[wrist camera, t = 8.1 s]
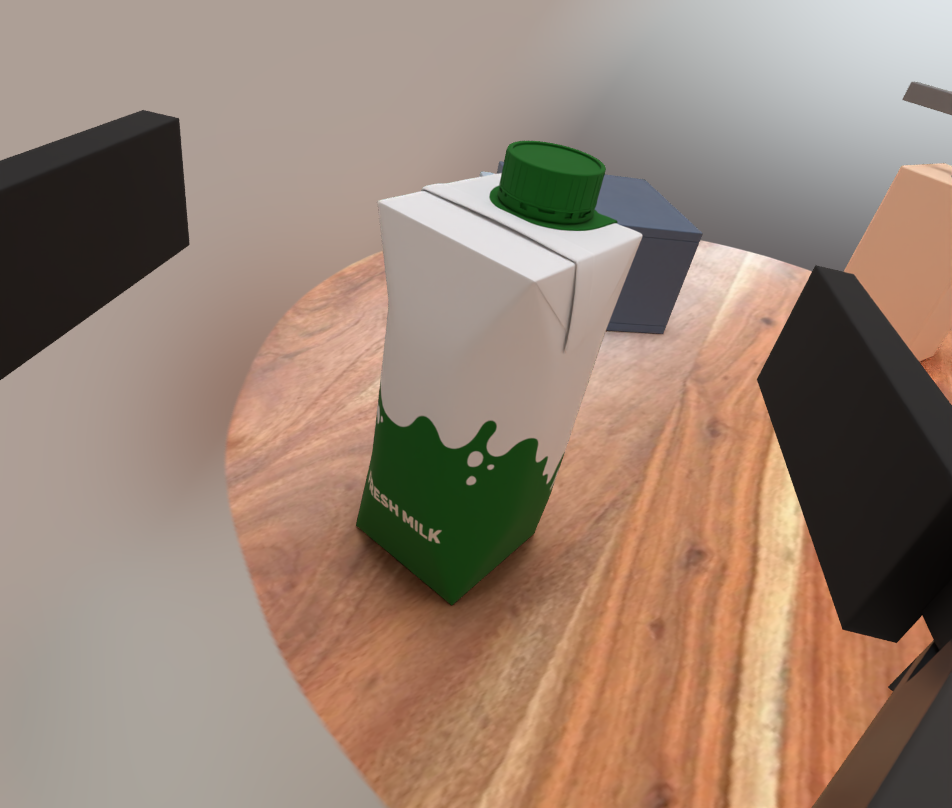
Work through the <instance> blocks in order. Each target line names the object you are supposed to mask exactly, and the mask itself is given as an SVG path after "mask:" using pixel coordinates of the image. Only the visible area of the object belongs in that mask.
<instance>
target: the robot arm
mask: <svg viewBox="0 0 952 808" xmlns="http://www.w3.org/2000/svg"><path fill="white" fill-rule="evenodd" d="M188 245H189V233H188V222H187V210H186V197H185V185H184V174H183V161H182V149H181V137H180V124H179V118H175V117H171V116H166V115H162V114H157V113H154V112H149V111H144V110H142V111H139V112H136V113H133V114H131V115H128V116H125V117H122V118H119V119H117V120H114V121H111V122H108V123H105V124H103V125H100V126H97V127H94V128H91V129H88V130H86V131H83V132H80V133H77V134H75V135H72V136H69V137H66V138H63V139H60V140H58V141H55V142H52V143H49V144H46V145H43V146H41V147H38V148H35V149H32V150H29V151H26V152H24V153H21V154H18V155H15V156H13V157H9V158H7V159H4V160H1V161H0V380H1V379H3V378H4V377H5V376H7V375H8V374H9V373H11V372H12V371H14V370H15V369H17V368H18V367H19V366H21V365H22V364H23V363H25V362H26V361H27V360H29V359H31V358H32V357H33V356H35V355H36V354H37V353H39V352H40V351H42V350H43V349H45V348H46V347H47V346H49V345H50V344H52V343H53V342H54V341H56V340H57V339H59V338H60V337H61V336H63V335H64V334H65V333H67V332H68V331H70V330H71V329H73V328H74V327H75V326H77V325H78V324H80V323H81V322H82V321H84V320H85V319H86V318H88V317H89V316H90V315H92V314H93V313H95V312H96V311H98V310H99V309H100V308H102V307H103V306H105V305H106V304H107V303H109V302H110V301H112V300H113V299H114V298H116V297H117V296H119V295H120V294H121V293H123V292H124V291H125V290H127V289H128V288H130V287H131V286H133V285H134V284H135V283H137V282H138V281H139V280H141V279H142V278H144V277H145V276H146V275H148V274H149V273H151V272H152V271H153V270H155V269H156V268H158V267H159V266H160V265H162V264H163V263H165V262H166V261H168V260H169V259H170V258H172V257H173V256H175V255H176V254H177V253H179V252H180V251H181V250H183V249H184V248H186V247H187V246H188ZM757 381H758V384H759V387H760V389H761V392H762V395H763V398H764V401H765V404H766V407H767V410H768V413H769V416H770V419H771V422H772V425H773V427H774V430H775V433H776V436H777V439H778V442H779V445H780V448H781V451H782V454H783V457H784V460H785V462H786V465H787V468H788V471H789V474H790V477H791V480H792V483H793V486H794V489H795V492H796V495H797V498H798V500H799V503H800V506H801V509H802V512H803V515H804V518H805V521H806V524H807V527H808V530H809V533H810V536H811V538H812V541H813V544H814V547H815V550H816V553H817V556H818V559H819V562H820V565H821V568H822V571H823V573H824V576H825V579H826V582H827V585H828V588H829V591H830V594H831V597H832V600H833V603H834V606H835V609H836V611H837V614H838V617H839V620H840V623H841V626H842V629H843V630H847V631H851V632H855V633H859V634H863V635H867V636H871V637H875V638H879V639H883V640H887V641H891V642H895V643H897V642H898V641H899V640H900V639H901V638H902V637H903V636H904V634H905V633H906V632H907V631H908V630H909V629H910V628H911V627H912V626H913V625H914V624H915V623H916V621H917V620H918V619H919V618H920V617H921V616H922V615H923V618H924V620H925V622H926V624H927V626H928V628H929V630H930V633H931V635H932V637H933V639H934V640H933V641H932V643H931V644H930V645H929V646H928V647H927V648H926V649H925V650H924V651H923V652H922V653H921V654H920V655H919V656H918V657H917V658H916V659H915V660H914V661H913V662H912V663H911V664H910V665H909V666H908V667H907V668H906V669H905V670H904V671H903V672H902V673H901V674H900V675H899V676H898V677H897V678H896V679H895V680H894V681H893V683H892V684H891V685H890V686H889V687H888V688H889V689H891V690H892V691H893V693H892V694H891V696H890V697H889V698H888V700H887V701H886V703H885V704H884V706H883V707H882V708H881V710H880V711H879V713H878V714H877V715H876V717H875V718H874V720H873V721H872V723H871V724H870V725H869V727H868V728H867V730H866V731H865V733H864V734H863V735H862V737H861V738H860V740H859V741H858V743H857V744H856V745H855V747H854V748H853V750H852V751H851V753H850V754H849V755H848V757H847V758H846V760H845V761H844V763H843V764H842V765H841V767H840V768H839V770H838V771H837V772H836V774H835V775H834V777H833V778H832V780H831V781H830V782H829V784H828V785H827V787H826V788H825V790H824V791H823V792H822V794H821V795H820V797H819V798H818V800H817V801H816V802H815V804H814V805H813V807H812V808H952V405H951V404H950V403H949V401H948V400H947V398H946V397H945V396H944V394H943V393H942V392H941V390H940V389H939V388H938V386H937V385H936V384H935V382H934V381H933V380H932V378H931V377H930V376H929V374H928V373H927V372H926V370H925V369H924V368H923V366H922V365H921V364H920V362H919V361H918V360H917V358H916V357H915V356H914V354H913V353H912V352H911V350H910V349H909V348H908V346H907V345H906V344H905V342H904V341H903V339H902V338H901V337H900V335H899V334H898V333H897V331H896V330H895V329H894V327H893V326H892V325H891V323H890V322H889V321H888V319H887V318H886V317H885V315H884V314H883V313H882V311H881V310H880V309H879V307H878V306H877V305H876V303H875V302H874V301H873V299H872V298H871V297H870V295H869V294H868V293H867V291H866V290H865V289H864V287H863V286H862V285H861V283H860V282H859V280H858V279H857V278H856V276H855V275H854V274H851V273H846V272H842V271H838V270H833V269H828V268H825V267H820V266H815V267H814V269H813V271H812V273H811V275H810V277H809V279H808V281H807V283H806V285H805V287H804V289H803V291H802V293H801V295H800V297H799V298H798V300H797V302H796V304H795V306H794V308H793V310H792V312H791V314H790V316H789V318H788V320H787V322H786V324H785V326H784V328H783V330H782V332H781V334H780V336H779V337H778V339H777V341H776V343H775V345H774V347H773V349H772V351H771V353H770V355H769V357H768V359H767V361H766V363H765V365H764V367H763V369H762V371H761V373H760V374H759V376H758V378H757Z"/></svg>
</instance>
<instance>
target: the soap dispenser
mask: <svg viewBox="0 0 952 808" xmlns="http://www.w3.org/2000/svg"><path fill="white" fill-rule="evenodd" d="M903 100H905V101H908V102H911V103H915V104H918V105H921V106H924V107H927V108H931V109H934V110H937V111H941V112H943V113H947V114H950V115H952V92H950V91H947V90H943V89H940V88H936V87H933V86H929V85H926V84H922V83H918V82H911V84H910V86H909V88H908V90H907V92H906V94H905V95H904V98H903ZM844 272H846V273H851V274H854V275H855V276H856V278H857V279H858V280H859V282H860V283H861V285H862V286H863V287H864V289H865V290H866V291H867V293H868V294H869V295H870V297H871V298H872V299H873V301H874V302H875V303H876V305H877V306H878V307H879V309H880V310H881V311H882V313H883V314H884V315H885V317H886V318H887V319H888V321H889V322H890V323H891V325H892V326H893V327H894V329H895V330H896V331H897V333H898V334H899V335H900V337H901V338H902V339H903V341H904V342H905V344H906V345H907V346H908V348H909V349H910V350H911V352H912V353H913V354H914V356H915V357H916V358H917V360H918V361H922V360H924V359H927V358H929V357H932V356H933V355H934V353H935V352H936V351H937V349H938V348H939V346H940V345H941V343H942V342H943V340H944V339H945V338H946V336H947V335H948V333H949V332H950V330H951V329H952V166H950V165H948V164H945V163H940V164H922V165H905V166H901V168H900V169H899V171H898V173H897V175H896V177H895V179H894V180H893V182H892V184H891V186H890V188H889V190H888V191H887V193H886V195H885V197H884V199H883V201H882V202H881V205H880V206H879V208H878V210H877V212H876V214H875V215H874V217H873V219H872V221H871V223H870V224H869V226H868V228H867V230H866V232H865V234H864V236H863V237H862V239H861V241H860V243H859V245H858V246H857V248H856V250H855V252H854V254H853V256H852V257H851V259H850V261H849V263H848V265H847V267H846V268H845V270H844Z"/></svg>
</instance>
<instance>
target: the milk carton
mask: <svg viewBox="0 0 952 808" xmlns="http://www.w3.org/2000/svg"><path fill="white" fill-rule="evenodd" d="M605 170H606V168H605V166H604V164H603V163H602V162H601V161H599V160H598V159H596V158H595V157H593V156H591V155H589V154H586V153H584V152H582V151H579V150H576V149H573V148H570V147H566V146H562V145H558V144H553V143H547V142H540V141H519V142H514V143H512V144H510V145H509V146H508V148H507V150H506V156H505V160H504V165H503V169H502V173H499V174H493V175H487V176H482V177H478V178H472V179H467V180H462V181H457V182H451V183H447V184H441V183H439V184H433V185H428V186H425V187H423V188H422V190H421V192H416V193H412V194H407V195H402V196H398V197H393V198H388V199H384V200H379V201H377V203H378V211H379V219H380V228H381V237H382V246H383V254H384V263H385V272H386V281H387V290H388V316H387V326H386V335H385V344H384V354H383V363H382V372H381V381H380V390H379V399H378V408H377V417H376V426H375V434H374V443H373V451H372V456H371V461H370V466H369V470H368V474H367V479H366V483H365V488H364V492H363V496H362V501H361V505H360V510H359V514H358V518H357V523H356V526H357V527H359V528H360V529H361V530H362V531H363V532H365V533H366V534H367V535H368V536H369V537H371V538H372V539H373V540H374V541H375V542H376V543H378V544H379V545H380V546H381V547H382V548H384V549H385V550H386V551H387V552H388V553H390V554H391V555H392V556H393V557H394V558H396V559H397V560H398V561H399V562H400V563H402V564H403V565H404V566H405V567H406V568H408V569H409V570H410V571H411V572H412V573H414V574H415V575H416V576H417V577H418V578H420V579H421V580H422V581H423V582H424V583H426V584H427V585H428V586H429V587H430V588H432V589H433V590H434V591H435V592H436V593H437V594H439V595H440V596H441V597H442V598H443V599H445V600H446V601H447V602H448V603H449V604H451V605H453V604H454V603H455V602H457V601H458V600H459V599H460V598H461V597H462V596H463V595H464V594H466V593H467V592H468V591H469V590H470V589H471V588H472V587H474V586H475V585H476V584H477V583H478V582H479V581H481V580H482V579H483V578H484V577H485V576H486V575H487V574H489V573H490V572H491V571H492V570H493V569H494V568H495V567H497V566H498V565H499V564H500V563H501V562H502V561H503V560H505V559H506V558H507V557H508V556H509V555H510V554H511V553H513V552H514V551H515V550H516V549H517V548H518V547H519V546H521V545H522V544H523V543H524V542H525V541H526V540H527V539H529V538H530V537H531V536H532V535H533V534H534V533H535V530H536V528H537V525H538V523H539V520H540V518H541V516H542V513H543V511H544V509H545V506H546V504H547V501H548V499H549V496H550V494H551V491H552V488H553V485H554V482H555V479H556V476H557V473H558V471H559V468H560V465H561V462H562V459H563V456H564V453H565V450H566V447H567V444H568V441H569V438H570V435H571V432H572V429H573V426H574V423H575V420H576V417H577V414H578V411H579V408H580V405H581V402H582V399H583V396H584V393H585V391H586V388H587V385H588V382H589V379H590V376H591V373H592V370H593V367H594V364H595V361H596V358H597V355H598V352H599V349H600V346H601V343H602V340H603V337H604V334H605V331H606V329H607V326H608V323H609V321H610V318H611V316H612V313H613V310H614V308H615V305H616V303H617V300H618V297H619V295H620V292H621V290H622V287H623V285H624V282H625V279H626V277H627V274H628V272H629V269H630V267H631V264H632V262H633V259H634V257H635V254H636V251H637V249H638V246H639V244H640V242H641V239H642V234H641V233H639V232H637V231H635V230H632V229H630V228H627V227H624V226H621V225H619V224H617V220H615V219H612V218H610V217H608V216H605V215H602V214H600V213H598V212H597V211H596V210H595V207H596V205H597V200H598V196H599V193H600V189H601V185H602V182H603V178H604V175H605Z"/></svg>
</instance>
